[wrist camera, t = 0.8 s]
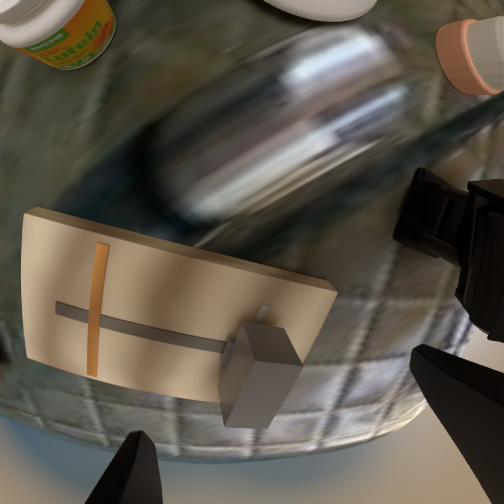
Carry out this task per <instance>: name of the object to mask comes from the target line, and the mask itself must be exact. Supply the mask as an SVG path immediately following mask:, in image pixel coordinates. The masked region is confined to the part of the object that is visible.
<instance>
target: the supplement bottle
mask: <svg viewBox="0 0 504 504" xmlns="http://www.w3.org/2000/svg"><path fill="white" fill-rule="evenodd" d="M115 27H116V21H115V16H114V14H113V11H112V9H111V8H110V6H109V4H108V2H107V1H106V0H0V40H1V41H2V42H4V43H5V44H7V45H8V46H11V47H13V48H15V49H17V50H19V51H21V52H24V53H26V54H28V55H30V56H32V57H34V58H36V59H38V60H40V61H42V62H44V63H46V64H48V65H50V66H52V67H54V68H57V69H60V70H73V69H77V68H80V67H83V66H85V65H87V64H89V63H91V62H92V61H94V60H95V59H96V58H97V57H98V56H100V55H101V54H102V53H103V51H104V50H105V49H106V48H107V46H108V45H109V43H110V42H111V40H112V38H113V35H114V32H115Z"/></svg>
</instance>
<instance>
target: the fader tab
mask: <svg viewBox="0 0 504 504" xmlns="http://www.w3.org/2000/svg"><path fill="white" fill-rule="evenodd" d="M219 366H220V368H223V369H224V370H223V372H222V375H221V377H220V380H219V383H218V385H217V387H218V393H219V399H220V405H221V411H222V417H223V422H224V427H234V428H252V429H267V428H268V427H269V425H270V423H271V422H272V420H273V418H274V417H275V415H276V413H277V412H278V410H279V408H280V407H281V405H282V403H283V402H284V400H285V398H286V397H287V395H288V393H289V391H290V390H291V388H292V386H293V384H294V383H295V381H296V379H297V377H298V375H299V374H300V372H301V370H302V368H303V364H302V362H301V360H300V358H299V356H298V354H297V352H296V350H295V348H294V346H293V344H292V343H291V341H290V339H289V337H288V335H287V333H286V331H285V329H284V328H281V327H274V326H269V325H263V324H257V323H251V322H246V321H242V322H241V325H240V328H239V330H238V333H237V336H236V338H235V339H234V338H228V340H227V343H226V346H225V349H224V351H223V354H222V357H221V359H220V362H219Z"/></svg>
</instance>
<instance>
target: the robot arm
mask: <svg viewBox="0 0 504 504" xmlns="http://www.w3.org/2000/svg"><path fill="white" fill-rule="evenodd" d="M422 172H423V175H421V174H422ZM467 190H469V191H468V192H466V191H463V190H459V189H456V188H453V187H451V186H450V185H449V184H447V183H446V182H444V181H443V180H442V179H440V178H439V177H437V176H436V175H434V174H433V173H431V172H430V171H428V170H427V169H425V168H421V167H420V168H418V169H417V172H416V175H415V178H414V181H413V184H412V187H411V190H410V192H409V195H408V198H407V201H406V204H405V206H404V209H403V212H402V214H401V217H400V220H399V222H398V225H397V227H396V230H395V232H394V240H395V241H397V242H399V243H401V244H404V245H406V246H409V247H411V248H414V249H416V250H419V251H421V252H423V253H426V254H428V255H431V256H433V257H435V258H439V257H441V258H443V259H444V260H446V261H448V262H450V263H451V264H453V265H455V266H457V267H458V268H460V269H461V270H460V276H459V281H458V287H457V288H456V291H455V296H456V297H457V299H458V300H459V302H460V303H461V304H462V306H463V307H464V308H465V310H466V311H467V313H468V314H469V320H470V321H471V322H472V323H473V324H474V325H475V326H476V327H478V328H479V329H480V330H481V331H483V332H484V333H486V334H488V337H487V339H488V340H491V341H498V342H502V343H504V180H502V179H492V180H480V181H469V182H468V185H467ZM400 234H401V235H400ZM399 235H400V237H399ZM410 370H411V372H412V374H413V376H414V378H415V380H416V382H417V383H418V385H419V387H420V389H421V391H422V393H423V395H424V397H425V399H426V400H427V402H428V404H429V405H430V407H431V409H432V410H433V411H434V413H435V414H436V416H437V417H438V419H439V420H440V422H441V423H442V425H443V426H444V428H445V429H446V431H447V432H448V434H449V435H450V437H451V438H452V440H453V441H454V443H455V444H456V446H457V447H458V449H459V451H460V452H461V454H462V455H463V457H464V458H465V460H466V462H467V463H468V465H469V466H470V468H471V470H472V471H473V473H474V474H475V476H476V478H477V479H478V481H479V483H480V484H481V486H482V488H483V490H484V491H485V493H486V495H487V496H488V498H489V500H490V502H491V503H492V504H504V373H502V372H499V371H496V370H493V369H491V368H488V367H485V366H482V365H479V364H477V363H474V362H471V361H468V360H466V359H463V358H460V357H458V356H455V355H452V354H450V353H447V352H444V351H441V350H439V349H436V348H433V347H431V346H428V345H425V344H421V345H419V346H417V347H415V348H413V349H412V352H411V359H410ZM85 504H163V498H162V486H161V479H160V473H159V467H158V461H157V454H156V448H155V445H154V443H153V442H152V441H151V439H150V438H149V437H148V436H147V435H146V433H145V432H144V431H142V430H137V431H131V432H130V433H129V434H128V436H127V437H126V439H125V440H124V442H123V444H122V445H121V447H120V448H119V450H118V451H117V453H116V455H115V456H114V458H113V459H112V461H111V462H110V464H109V466H108V467H107V469H106V470H105V472H104V473H103V475H102V477H101V478H100V480H99V481H98V483H97V485H96V486H95V488H94V489H93V491H92V492H91V494H90V496H89V497H88V499H87V500H86V502H85Z"/></svg>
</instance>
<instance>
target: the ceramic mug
mask: <svg viewBox="0 0 504 504" xmlns="http://www.w3.org/2000/svg"><path fill="white" fill-rule="evenodd" d="M3 381H4V370H3V367H2V365H1V363H0V389H1V387H2V384H3Z"/></svg>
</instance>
